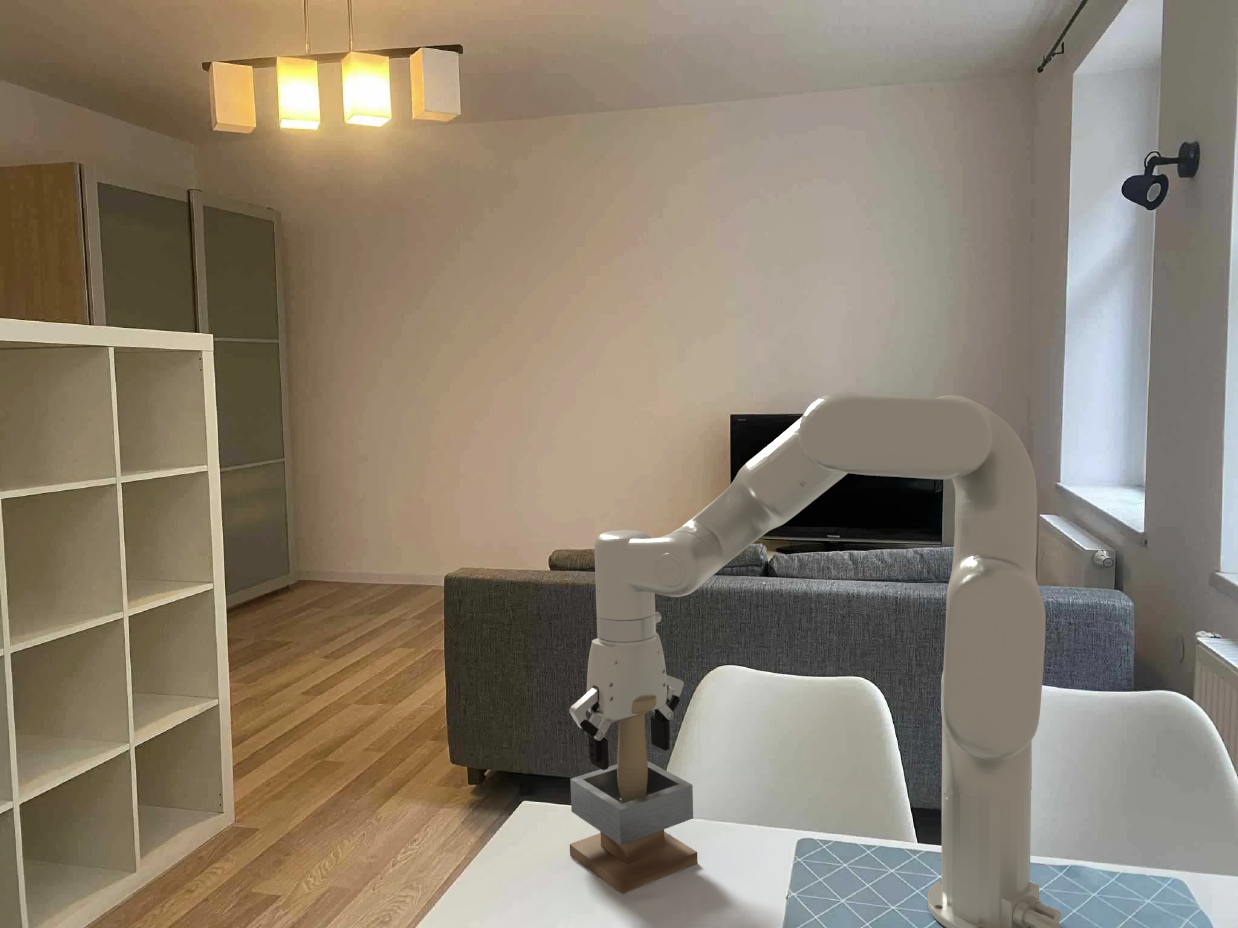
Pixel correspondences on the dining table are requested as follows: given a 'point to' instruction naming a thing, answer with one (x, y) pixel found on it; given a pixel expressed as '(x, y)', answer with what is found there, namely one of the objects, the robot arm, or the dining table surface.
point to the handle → (633, 752)
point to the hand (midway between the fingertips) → (630, 756)
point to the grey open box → (631, 803)
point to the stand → (633, 859)
